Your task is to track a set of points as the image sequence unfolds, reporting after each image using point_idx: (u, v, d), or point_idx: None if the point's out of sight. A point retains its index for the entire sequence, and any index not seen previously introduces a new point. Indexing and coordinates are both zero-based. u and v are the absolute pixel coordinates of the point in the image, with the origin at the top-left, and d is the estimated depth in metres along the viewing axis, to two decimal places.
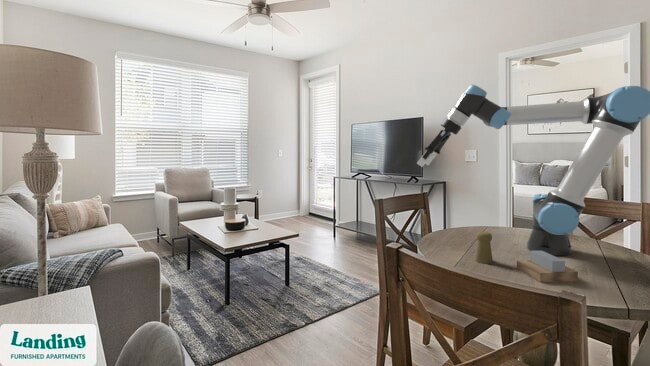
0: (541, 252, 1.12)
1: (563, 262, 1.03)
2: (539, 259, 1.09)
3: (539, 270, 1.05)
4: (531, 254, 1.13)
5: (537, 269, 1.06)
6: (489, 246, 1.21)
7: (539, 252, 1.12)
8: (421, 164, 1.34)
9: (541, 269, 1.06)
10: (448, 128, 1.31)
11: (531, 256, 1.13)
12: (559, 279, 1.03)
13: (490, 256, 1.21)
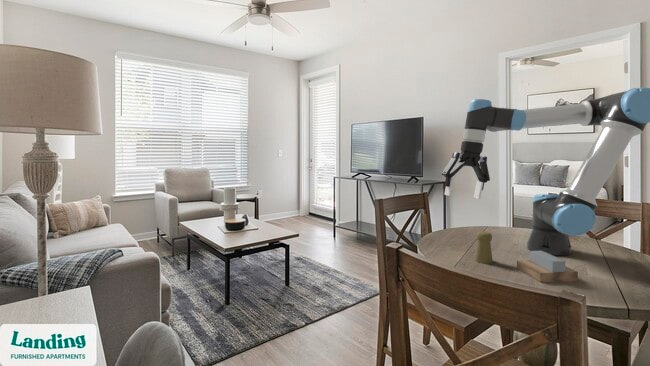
0: (541, 252, 1.12)
1: (563, 262, 1.03)
2: (539, 259, 1.09)
3: (539, 270, 1.05)
4: (531, 254, 1.13)
5: (537, 269, 1.06)
6: (489, 246, 1.21)
7: (539, 252, 1.12)
8: (447, 193, 1.24)
9: (541, 269, 1.06)
10: (463, 149, 1.23)
11: (531, 257, 1.13)
12: (559, 279, 1.03)
13: (490, 256, 1.21)
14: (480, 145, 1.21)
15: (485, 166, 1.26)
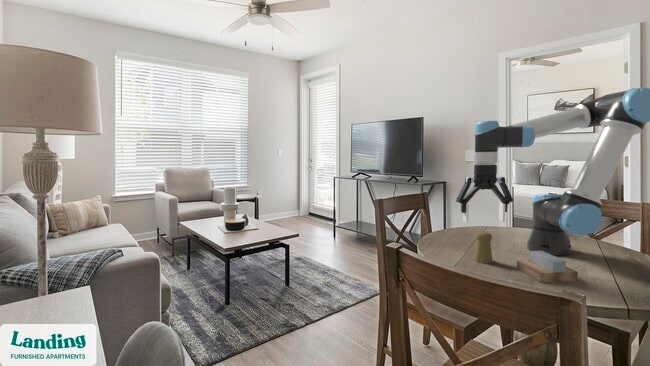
0: (542, 252, 1.12)
1: (564, 262, 1.03)
2: (539, 259, 1.09)
3: (539, 270, 1.05)
4: (532, 254, 1.13)
5: (537, 269, 1.06)
6: (489, 246, 1.21)
7: (540, 252, 1.12)
8: (465, 219, 1.21)
9: (541, 269, 1.06)
10: (475, 173, 1.20)
11: (531, 257, 1.13)
12: (559, 279, 1.03)
13: (490, 256, 1.21)
14: (492, 167, 1.17)
15: (504, 187, 1.20)
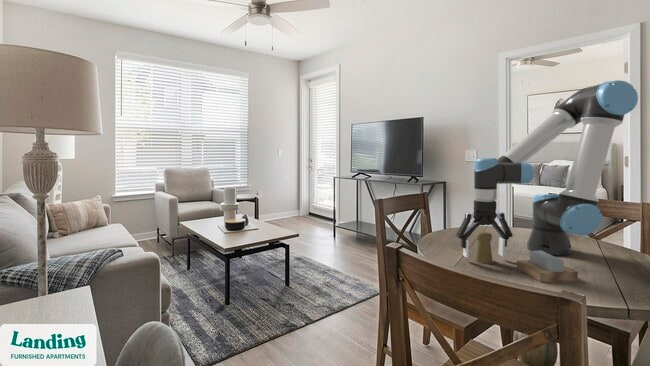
0: (541, 252, 1.12)
1: (562, 262, 1.03)
2: (538, 259, 1.09)
3: (539, 270, 1.05)
4: (531, 254, 1.13)
5: (537, 269, 1.06)
6: (489, 246, 1.21)
7: (538, 252, 1.12)
8: (465, 255, 1.23)
9: (541, 269, 1.06)
10: (475, 209, 1.21)
11: (530, 256, 1.13)
12: (559, 279, 1.03)
13: (490, 256, 1.21)
14: (491, 204, 1.18)
15: (504, 222, 1.21)
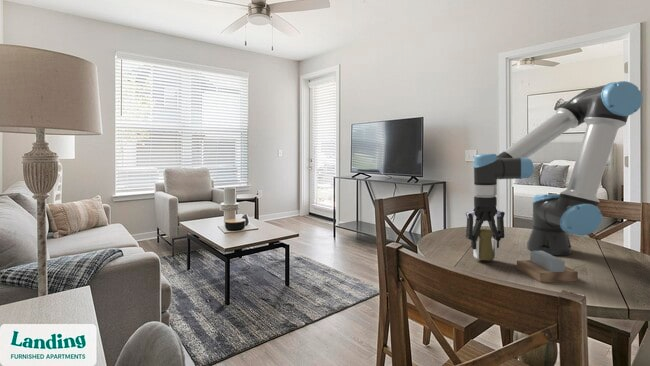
0: (541, 252, 1.12)
1: (563, 262, 1.03)
2: (539, 259, 1.09)
3: (539, 270, 1.05)
4: (531, 254, 1.13)
5: (537, 269, 1.06)
6: (490, 243, 1.21)
7: (539, 252, 1.12)
8: (475, 255, 1.23)
9: (541, 269, 1.06)
10: (475, 205, 1.21)
11: (531, 256, 1.13)
12: (559, 279, 1.03)
13: (491, 253, 1.21)
14: (492, 200, 1.18)
15: (501, 222, 1.21)
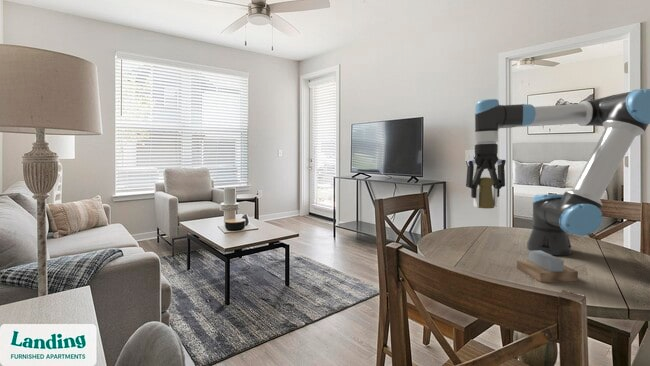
0: (540, 252, 1.12)
1: (562, 262, 1.03)
2: (538, 259, 1.09)
3: (539, 270, 1.05)
4: (530, 254, 1.14)
5: (537, 269, 1.06)
6: (490, 191, 1.19)
7: (538, 252, 1.12)
8: (475, 204, 1.21)
9: (542, 269, 1.06)
10: (476, 152, 1.19)
11: (530, 256, 1.14)
12: (559, 279, 1.03)
13: (491, 201, 1.19)
14: (493, 146, 1.16)
15: (502, 170, 1.19)
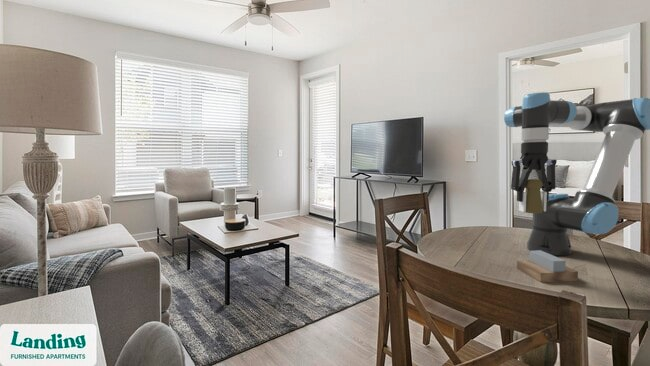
0: (540, 252, 1.12)
1: (564, 262, 1.03)
2: (539, 259, 1.09)
3: (540, 270, 1.05)
4: (530, 254, 1.13)
5: (537, 269, 1.06)
6: (539, 194, 1.08)
7: (538, 252, 1.12)
8: (522, 209, 1.10)
9: (542, 269, 1.06)
10: (523, 151, 1.08)
11: (530, 256, 1.13)
12: (559, 279, 1.03)
13: (540, 205, 1.08)
14: (543, 144, 1.05)
15: (552, 171, 1.08)
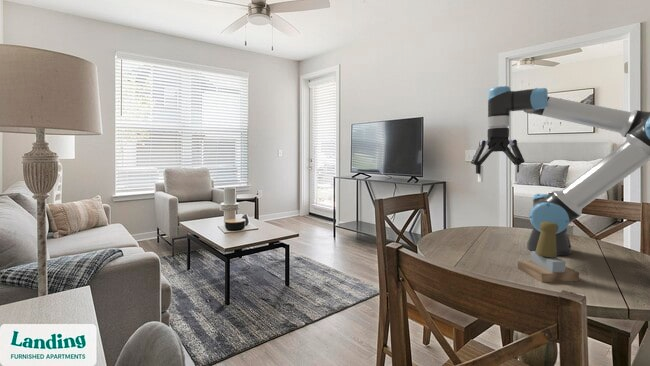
0: None
1: (563, 263, 1.03)
2: (539, 260, 1.10)
3: (541, 271, 1.05)
4: (532, 254, 1.14)
5: (539, 270, 1.06)
6: (555, 238, 1.07)
7: None
8: (480, 180, 1.30)
9: (543, 269, 1.06)
10: (489, 136, 1.29)
11: (532, 257, 1.14)
12: (560, 280, 1.03)
13: (555, 249, 1.07)
14: (505, 130, 1.26)
15: (516, 149, 1.29)
